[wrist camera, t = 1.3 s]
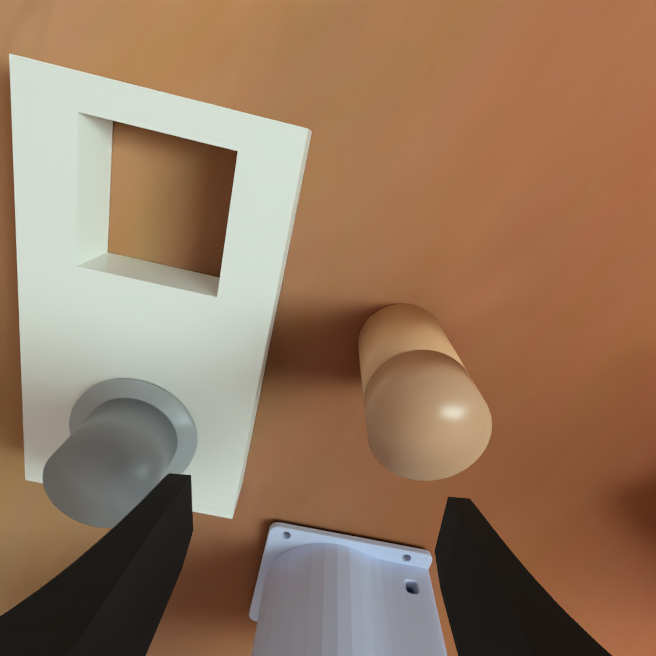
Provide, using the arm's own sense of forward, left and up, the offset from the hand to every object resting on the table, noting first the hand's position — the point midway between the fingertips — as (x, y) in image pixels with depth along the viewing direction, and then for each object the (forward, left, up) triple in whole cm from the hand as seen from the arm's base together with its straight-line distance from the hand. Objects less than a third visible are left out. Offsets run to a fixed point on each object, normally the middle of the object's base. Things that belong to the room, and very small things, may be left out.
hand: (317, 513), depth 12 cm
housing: (+8, -1, -10) cm, 12 cm away
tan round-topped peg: (-3, -2, -10) cm, 10 cm away
